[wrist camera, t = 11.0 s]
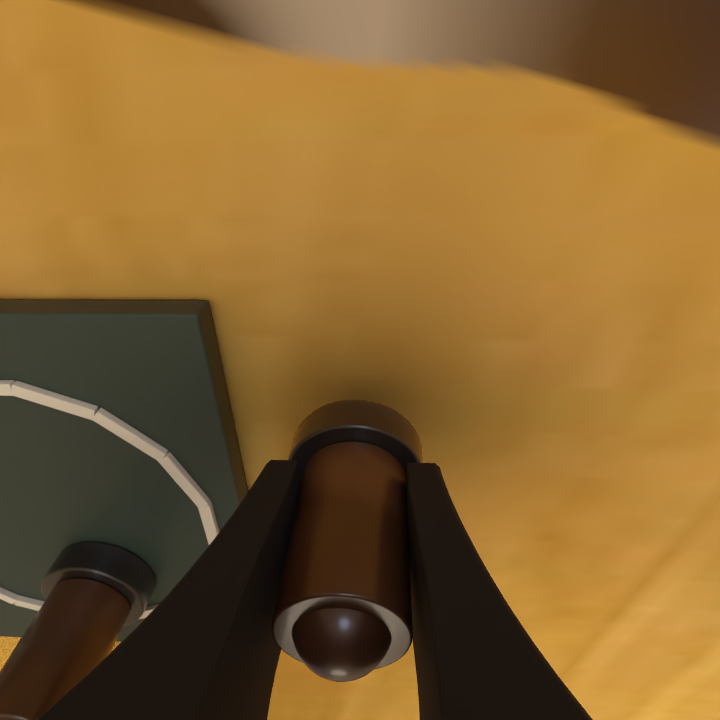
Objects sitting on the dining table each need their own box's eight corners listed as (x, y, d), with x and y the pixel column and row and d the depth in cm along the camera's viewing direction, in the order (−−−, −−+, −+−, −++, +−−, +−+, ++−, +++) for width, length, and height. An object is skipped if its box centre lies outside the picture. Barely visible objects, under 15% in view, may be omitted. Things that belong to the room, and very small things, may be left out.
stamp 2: (349, 511, 13) (328, 737, 9) (266, 439, 12) (195, 660, 8) (447, 459, 12) (479, 690, 8) (366, 375, 11) (350, 591, 6)
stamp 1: (119, 610, 17) (26, 800, 13) (39, 564, 16) (-93, 756, 12) (175, 579, 16) (94, 776, 12) (94, 527, 15) (-31, 725, 10)
